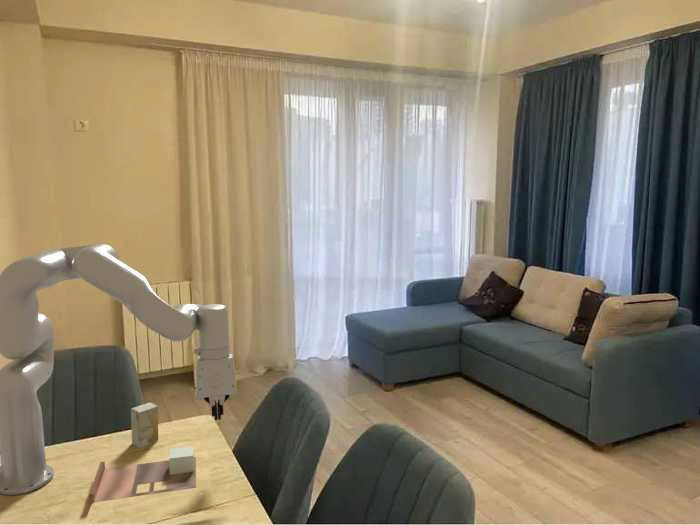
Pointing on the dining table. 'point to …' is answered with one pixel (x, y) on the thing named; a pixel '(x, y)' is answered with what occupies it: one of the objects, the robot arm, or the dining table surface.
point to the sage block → (181, 460)
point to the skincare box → (144, 424)
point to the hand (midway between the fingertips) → (217, 417)
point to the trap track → (137, 480)
